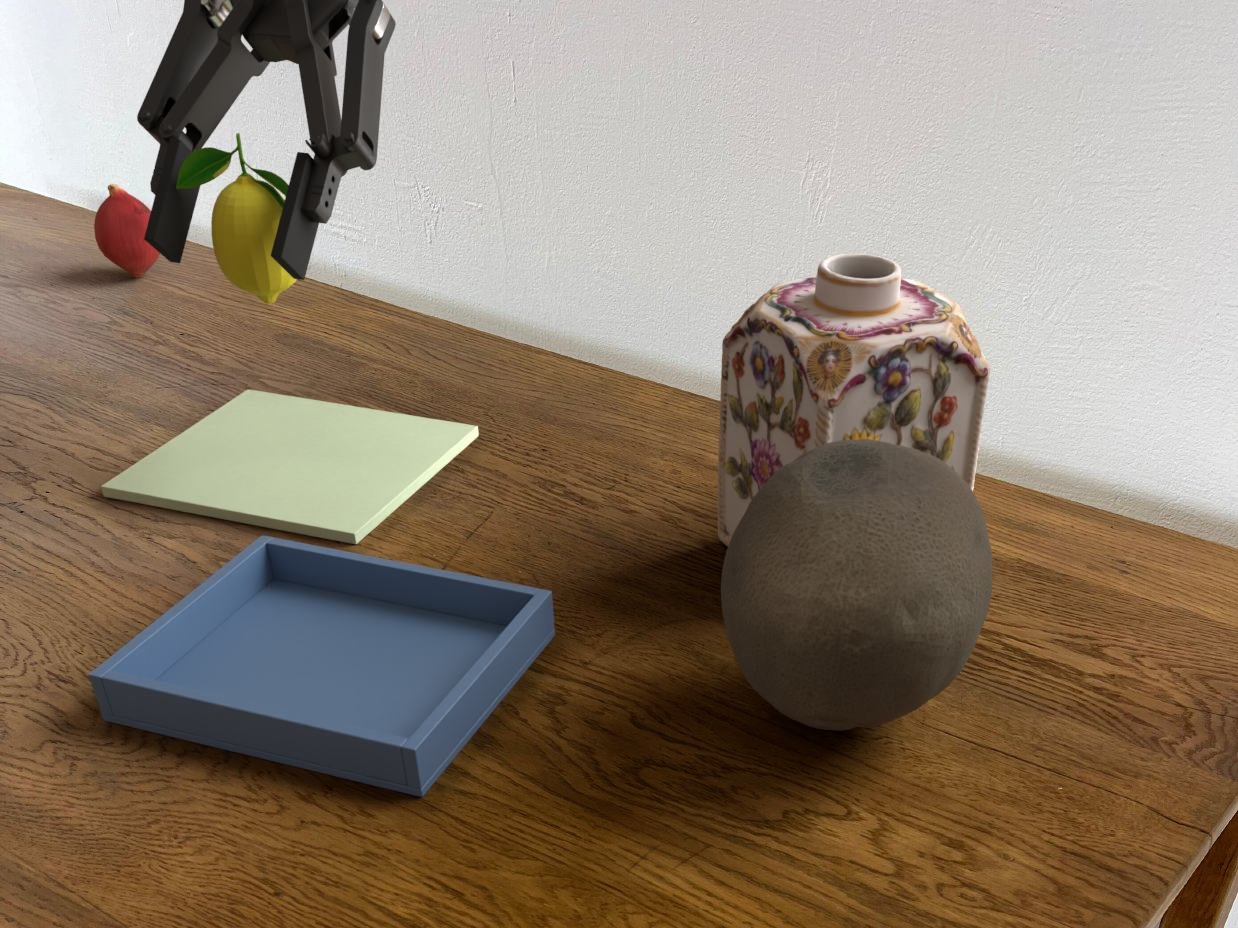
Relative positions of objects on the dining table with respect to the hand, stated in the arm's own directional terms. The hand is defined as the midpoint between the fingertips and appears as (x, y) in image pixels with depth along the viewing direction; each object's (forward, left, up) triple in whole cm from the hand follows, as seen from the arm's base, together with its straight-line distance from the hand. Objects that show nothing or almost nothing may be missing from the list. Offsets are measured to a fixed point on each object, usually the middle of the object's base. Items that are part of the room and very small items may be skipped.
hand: (224, 259), depth 84 cm
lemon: (0, +3, -4) cm, 5 cm away
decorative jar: (+39, +4, -16) cm, 43 cm away
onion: (-37, +34, -16) cm, 53 cm away
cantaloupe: (+44, -13, -16) cm, 49 cm away
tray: (+16, -19, -15) cm, 29 cm away
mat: (-1, +4, -15) cm, 16 cm away
